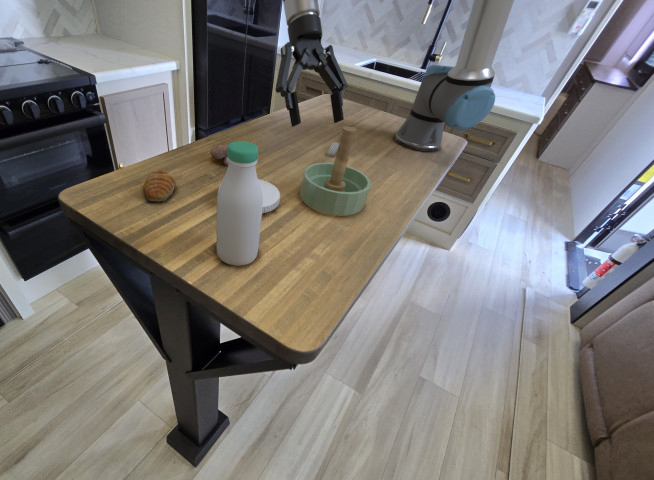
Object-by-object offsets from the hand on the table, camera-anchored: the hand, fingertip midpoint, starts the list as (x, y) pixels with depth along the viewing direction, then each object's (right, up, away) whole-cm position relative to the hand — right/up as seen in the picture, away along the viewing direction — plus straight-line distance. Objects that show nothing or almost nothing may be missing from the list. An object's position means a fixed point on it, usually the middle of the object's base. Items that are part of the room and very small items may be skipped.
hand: (318, 123), depth 80 cm
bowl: (+3, -18, +1) cm, 19 cm away
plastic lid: (-17, -20, -3) cm, 26 cm away
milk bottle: (-18, -34, -17) cm, 42 cm away
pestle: (+3, -18, +1) cm, 18 cm away
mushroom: (-24, -5, +11) cm, 27 cm away
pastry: (-37, -18, -4) cm, 41 cm away
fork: (+11, +7, +28) cm, 31 cm away
